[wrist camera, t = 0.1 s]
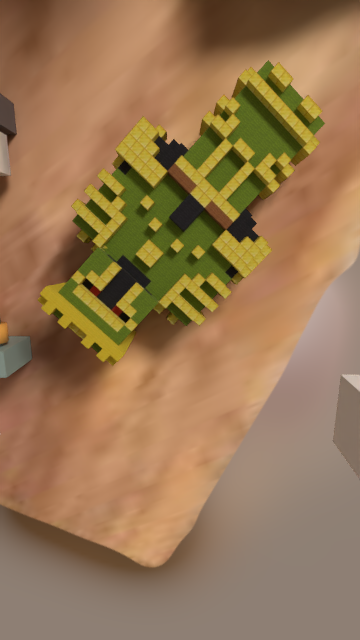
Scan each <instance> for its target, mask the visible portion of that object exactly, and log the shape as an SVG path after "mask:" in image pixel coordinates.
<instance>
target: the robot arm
mask: <svg viewBox="0 0 360 640" xmlns="http://www.w3.org/2000/svg"><path fill="white" fill-rule="evenodd" d="M333 442H334V444H335V445H336V446H337V448H338V449H339V451H340V452H341V454H342V455H343V456H344V458H345V459H346V461H347V462H348V463H349V465H350V466H351V468H352V469H353V471H354V472H355V473H356V475H357V476H358V478H359V479H360V375H341V378H340V386H339V394H338V403H337V412H336V420H335V428H334V437H333Z"/></svg>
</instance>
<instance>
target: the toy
mask: <svg viewBox="0 0 360 640" xmlns="http://www.w3.org/2000/svg"><path fill="white" fill-rule="evenodd" d="M292 80H293V78H292V76H291V75H290V74H289V73H288V72H287V71H286V70H285V69H284V67H283V66H282V65H281V64H280V63H279V62H278V64H277V65H276V66H275V67H274V66H273V65H272V64H271V63H270V62H269V61H267V62H266V63H265V64H264V66H263V67H262V68H261V69H260V70H259V71H258V72H255V71H254V69H253V68H252V67H250V68H249V70H248V71H247V70H245V71H244V72H243V73H242V74H241V75H240V76H239V78H238V80H237V83H236V86H235V89H234V92H233V95H232V99H231V100H229V99H228V98H227V97H226V96H225V95H223V96H222V97H221V98H220V99H219V100H218V101H217V103H216V107H215V111H214V115H213V114H212V113H211V112H210V111H209V112H208V113H207V114H206V115H205V116H204V117H203V119H202V123H201V128H200V135H201V137H200V138H199V139H198V140H197V141H196V143H195V144H194V145H193V146H192V147H191V148H190V149H189V150H188V149H187V148H186V147H185V146H184V145H183V144H182V143H181V144H180V145H179V144H178V143H177V142H176V141H175V140H174V139H173V141H172V142H171V143H170V144H169V145H168V144H167V143H166V142H165V141H166V139H167V132H166V131H165V130H164V129H163V128H162V127H161V126H160V125H158V126H157V127H156V129H155V128H154V126H153V125H152V124H151V123H150V122H149V121H148V120H147V119H146V118H145V117H144V116H143V117H142V118H141V119H140V120H139V122H138V123H137V124H136V125H135V126H134V127H133V129H132V130H131V131H130V132H129V133H128V134H127V136H126V137H125V138H124V139H123V140H122V142H121V143H120V144H119V145H118V146H117V147H116V149H115V150H116V152H117V154H118V155H119V156H118V157H117V158H116V159H115V160H114V162H113V163H112V164H113V165H114V167H115V169H116V170H115V172H114V173H113V174H112V175H111V174H110V173H108V172H107V171H106V170H105V169H104V168H103V169H102V171H101V172H100V173H99V174H98V175H97V176H98V178H99V179H100V180H101V181H102V182H103V183H104V184H103V186H102V187H101V188H100V189H99V190H97V189H96V188H95V187H94V186H93V185H91V184H90V185H89V186H88V187H87V188H86V189H85V190H84V192H85V193H86V194H87V195H88V196H89V197H90V198H91V200H90V201H89V202H88V203H87V204H85V203H83V202H82V201H80V200H79V199H77V200H76V201H75V202H74V203H73V205H72V206H71V207H72V208H73V209H74V210H76V213H77V214H78V215H77V216H76V217H75V218H74V219H73V220H72V221H73V222H74V223H75V224H76V225H77V226H78V227H79V228H81V229H82V230H81V231H80V232H79V233H78V234H77V237H78V238H79V239H80V240H81V241H82V242H84V243H89V242H90V241H91V240H93V242H94V243H95V245H94V246H93V247H92V248H91V250H92V251H93V253H92V254H91V255H90V257H89V258H88V259H87V260H86V261H85V262H84V263H83V265H82V266H81V267H80V268H79V269H78V270H77V271H76V273H75V274H74V275H73V276H72V277H71V278H70V279H69V280H68V282H66V283H61V284H55V285H50V286H46V287H45V288H44V289H43V291H42V292H41V293H40V294H41V297H40V298H39V299H38V301H39V302H40V303H41V304H42V305H44V306H43V307H42V308H41V309H43V310H44V311H45V312H46V313H47V314H48V315H51V314H54V315H55V316H56V317H57V318H59V321H58V323H59V324H60V325H61V326H62V327H63V328H65V329H66V328H67V327H69V328H70V329H71V330H72V331H73V332H75V333H76V334H77V335H78V336H79V337H80V338H82V339H83V340H82V341H81V343H82V344H83V345H84V346H85V347H86V348H88V349H89V348H90V347H92V348H93V349H94V350H95V351H96V352H98V354H97V355H96V356H97V357H98V358H99V359H100V360H101V361H103V362H104V361H105V360H107V361H108V362H109V363H110V364H111V365H114V364H115V363H116V362H118V361H119V360H120V359H121V358H122V357H123V356H124V354H125V352H126V351H127V349H128V347H129V345H130V343H131V342H132V340H133V338H134V336H135V334H136V331H135V330H133V329H134V328H135V327H136V326H137V325H138V324H139V323H140V322H141V321H142V320H143V319H144V318H145V317H146V316H147V315H148V313H149V312H150V311H151V310H152V309H155V310H156V311H157V312H158V313H159V314H160V313H161V312H162V311H163V310H164V309H166V308H167V309H168V310H169V311H170V313H169V314H168V315H167V320H168V321H170V322H171V323H172V324H173V325H174V324H175V322H176V321H177V320H178V319H179V320H180V321H181V322H182V323H183V324H184V325H186V326H187V325H188V324H189V323H190V322H191V321H195V322H196V323H197V324H198V325H199V326H200V325H201V324H202V322H203V321H204V320H205V317H204V315H203V313H202V312H201V310H202V309H203V308H204V307H207V308H208V309H209V310H210V311H211V312H213V311H214V310H215V309H216V308H217V307H218V306H219V305H218V304H217V303H216V302H215V301H214V300H213V298H214V297H215V296H216V295H217V294H219V295H221V296H222V297H223V298H225V299H226V298H227V297H228V296H229V294H230V293H231V291H230V290H229V289H228V288H227V287H226V284H227V283H228V282H229V281H230V280H231V281H232V282H233V283H234V284H238V283H239V282H240V281H241V280H242V279H243V278H246V277H247V276H248V275H249V274H250V273H251V272H252V271H253V270H254V269H255V268H256V267H257V265H258V264H259V263H260V262H261V261H262V260H263V259H264V258H265V257H266V256H267V255H268V254H269V253H270V252H271V251H272V249H271V248H270V247H269V246H268V245H267V244H268V242H267V241H266V240H265V239H264V238H263V237H262V236H258V235H257V234H256V233H255V232H254V231H253V230H252V228H253V227H254V226H255V225H256V224H257V223H256V222H255V221H254V220H253V219H252V218H251V216H252V215H251V214H250V213H249V212H248V210H247V209H246V207H247V206H248V205H249V204H250V203H251V202H252V201H253V200H254V199H255V198H256V197H257V195H259V196H260V197H261V198H262V200H264V199H266V198H267V197H268V196H270V195H271V194H273V193H274V192H275V191H276V190H277V189H278V188H279V186H280V183H281V182H283V181H284V180H285V179H287V178H288V177H289V176H290V175H291V174H292V173H293V172H294V171H295V170H294V169H293V168H292V167H291V165H290V164H289V162H290V161H291V162H292V163H293V164H294V165H295V166H296V165H297V164H298V163H300V162H301V161H302V160H303V159H305V158H306V157H307V156H308V155H310V154H311V152H312V151H313V150H314V149H315V148H316V147H317V145H318V144H319V143H320V142H319V141H318V140H317V139H316V138H315V136H314V134H315V133H316V132H317V131H318V130H319V129H320V128H321V127H322V126H323V125H324V124H325V123H324V122H323V121H322V120H321V118H320V117H319V116H318V115H319V114H320V113H321V112H322V110H321V109H320V108H319V107H318V106H317V104H316V103H315V102H314V101H313V100H312V99H311V98H310V97H309V95H308V96H307V97H306V98H305V99H303V98H302V97H301V96H300V95H299V94H298V93H297V92H296V91H295V89H294V88H293V87H292V86H291V85H290V83H291V82H292Z"/></svg>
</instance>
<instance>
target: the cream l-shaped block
mask: <svg viewBox="0 0 360 640" xmlns="http://www.w3.org/2000/svg"><path fill="white" fill-rule="evenodd" d="M0 176H11V170H10V161H9V152H8V143H7V135H5V134H3V133H2V132H0Z"/></svg>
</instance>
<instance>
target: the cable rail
mask: <svg viewBox="0 0 360 640" xmlns="http://www.w3.org/2000/svg"><path fill="white" fill-rule="evenodd" d="M0 132H2V133H3V134H17V133H16V124H15V114H14V104H13V103H12V102H11V101H9V100H8V99H7V98H6V97H4V96H3V95H2V94H0ZM30 360H32V352H31V343H30V336H8V328H7V323H6V322H1V320H0V378H7V377H8V376H10V375H11V374H12V373H14V372H15V371H16V370H18V369H19V368H21V367H22V366H23V365H25V364H26V363H27V362H29V361H30Z"/></svg>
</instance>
